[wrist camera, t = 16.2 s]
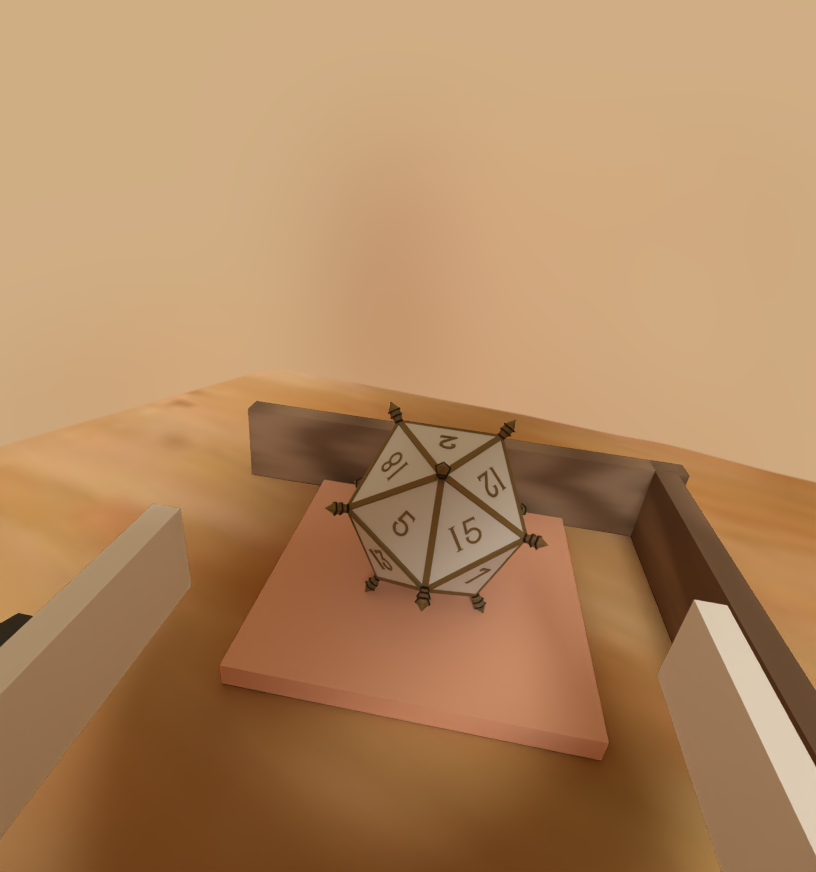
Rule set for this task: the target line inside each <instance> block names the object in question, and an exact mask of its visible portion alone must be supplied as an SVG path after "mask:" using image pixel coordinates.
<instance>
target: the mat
mask: <svg viewBox="0 0 816 872" xmlns="http://www.w3.org/2000/svg"><path fill="white" fill-rule="evenodd" d="M355 490H356V487H355V485H354V484H348V483H342V482H336V481H330V480H324V481H323V483H322V484H321V486H320V488H319V490H318V491H317V493H316V495H315V497H314V499H313V500H312V502H311V504H310V506H309V507H308V509H307V511H306V513H305V515H304V516H303V518H302V520H301V522H300V523H299V525H298V527H297V529H296V530H295V532H294V534H293V536H292V538H291V539H290V541H289V543H288V545H287V546H286V548H285V550H284V552H283V553H282V555H281V557H280V559H279V561H278V562H277V564H276V566H275V568H274V569H273V571H272V573H271V575H270V577H269V578H268V580H267V582H266V584H265V585H264V587H263V589H262V591H261V592H260V594H259V596H258V598H257V600H256V601H255V603H254V605H253V607H252V608H251V610H250V612H249V614H248V616H247V617H246V619H245V621H244V623H243V624H242V626H241V628H240V630H239V631H238V633H237V635H236V637H235V639H234V640H233V642H232V644H231V646H230V647H229V649H228V651H227V653H226V655H225V656H224V658H223V660H222V662H221V663H220V665H219V667H220V675H221V683H223V684H228V685H233V686H238V687H242V688H247V689H252V690H257V691H262V692H267V693H272V694H277V695H282V696H287V697H292V698H296V699H301V700H306V701H311V702H316V703H321V704H326V705H331V706H336V707H341V708H345V709H350V710H355V711H360V712H365V713H370V714H375V715H380V716H385V717H390V718H395V719H399V720H404V721H409V722H414V723H419V724H424V725H429V726H434V727H439V728H444V729H448V730H453V731H458V732H463V733H468V734H473V735H478V736H483V737H488V738H493V739H497V740H502V741H507V742H512V743H517V744H522V745H527V746H532V747H537V748H542V749H547V750H551V751H556V752H561V753H566V754H571V755H576V756H581V757H586V758H591V759H596V760H600V761H601V760H602V758H603V755H604V753H605V751H606V749H607V747H608V745H609V741H608V736H607V731H606V727H605V722H604V717H603V712H602V707H601V703H600V698H599V693H598V688H597V683H596V679H595V674H594V669H593V664H592V659H591V655H590V650H589V645H588V640H587V635H586V631H585V626H584V621H583V616H582V611H581V607H580V602H579V597H578V592H577V587H576V583H575V578H574V573H573V568H572V563H571V559H570V554H569V549H568V544H567V539H566V535H565V530H564V525H563V520H562V518H557V517H551V516H545V515H539V514H533V513H526V515H523V518H524V522H525V526H526V530H527V534H528V535H532V534H535V535H536V536H538V535H540V536H542V539H543V540H544V541H545V542H546V543H547V544H548V545H549V546H545V547H542V548H538V549H537V550H535V548H534V547H531V548H530V546H529V545H528V544H527V543H523V544H522V545H521V547H520V548H519V549H518V550H517V551H516V552H515V553H514V554H513V555H512V557H511V558H510V559H509V560H508V561H507V562H506V563H505V564H504V566H503V567H502V568H501V569H500V570H499V571H498V572H497V573H496V574H495V576H494V577H493V578H492V579H491V580H490V581H489V582H488V583H487V585H486V586H485V587H484V588H483V589H482V590H481V591H480V592H479V595H480V596H481V597H483V598H484V599H483V600H484V602H486V604H485V608H484V613H481V612H480V611H478V610H477V609H474V604H473V603H472V600H473V598H472V597H470V596H459V595H448V594H437V593H429V594H430V597H431V600H430V604H431V605H430V606H427V607H426V608H425V609H424V610H423V611H422V612H421V611H420V609H419V607H418V605H417V604H416V603H415V600H416V599H417V597H416V595H417V594H418V593H419V591H418V590H414V589H410V588H407V587H403V586H399V585H395V584H392V583H388V582H384V581H381V580H380V581H379V582H378V583H379V584H378V586H377V587H376V588H375V590H374V591H368V592H365V586H366V583H365V581H368V580H369V577H373V576H374V572H373V570H372V567H371V565H370V563H369V560H368V558H367V556H366V554H365V551H364V549H363V547H362V545H361V542H360V540H359V538H358V536H357V533H356V531H355V529H354V527H353V524H352V522H351V520H350V518H349V515H348V513H343V514H342V515H341V516H340V515H339V514H338V515H336V516H334V515H333V514H332V513H331V512H330V511H328V510H327V509H325V508H326V507H327V506H329V505H331V504H332V503H333V502H337V503H339V502H343V504H347V503H348V502H349V500H350V498H351V497H352V495H353V493H354V492H355Z"/></svg>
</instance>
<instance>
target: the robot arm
mask: <svg viewBox="0 0 816 872" xmlns="http://www.w3.org/2000/svg"><path fill="white" fill-rule="evenodd" d="M191 586H192V585H191V578H190V571H189V564H188V557H187V550H186V544H185V537H184V530H183V523H182V516H181V509H180V508H175V507H170V506H164V505H158V504H152V505H151V506H150V507H149V508H148V509H147V510H146V511H145V512H144V513H143V514H142V515H141V516H140V517H139V518H138V519H136V520H135V521H134V522H133V523H132V524H131V525H130V526H129V527H128V528H127V529H126V530H125V531H124V532H123V533H122V534H120V535H119V536H118V537H117V538H116V539H115V540H114V541H113V542H112V543H111V544H110V545H109V546H108V547H107V548H106V549H104V550H103V551H102V552H101V553H100V554H99V555H98V556H97V557H96V558H95V559H94V560H93V561H92V562H91V563H90V564H88V565H87V566H86V567H85V568H84V569H83V570H82V571H81V572H80V573H79V574H78V575H77V576H76V577H75V578H74V579H73V580H71V581H70V582H69V583H68V584H67V585H66V586H65V587H64V588H63V589H62V590H61V591H60V592H59V593H58V594H57V595H55V596H54V597H53V598H52V599H51V600H50V601H49V602H48V603H47V604H46V605H45V606H44V607H43V608H42V609H41V610H39V611H38V612H37V613H36V614H35V615H34V616H30V615H25V614H20V613H18V614H16V615H14V616H12V617H11V618H9V619H7V620H5V621H4V622H2V623H0V839H1V838H2V836H3V835H4V834H5V832H6V831H7V830H8V828H9V827H10V826H11V824H12V823H13V822H14V820H15V819H16V818H17V816H18V815H19V814H20V812H21V811H22V810H23V808H24V807H25V806H26V804H27V803H28V802H29V801H30V799H31V798H32V797H33V795H34V794H35V793H36V791H37V790H38V789H39V787H40V786H41V785H42V783H43V782H44V781H45V779H46V778H47V777H48V775H49V774H50V773H51V771H52V770H53V769H54V767H55V766H56V765H57V763H58V762H59V761H60V759H61V758H62V757H63V755H64V754H65V753H66V751H67V750H68V749H69V747H70V746H71V745H72V744H73V742H74V741H75V740H76V738H77V737H78V736H79V734H80V733H81V732H82V730H83V729H84V728H85V726H86V725H87V724H88V722H89V721H90V720H91V718H92V717H93V716H94V714H95V713H96V712H97V710H98V709H99V708H100V706H101V705H102V704H103V702H104V701H105V700H106V698H107V697H108V696H109V694H110V693H111V692H112V691H113V689H114V688H115V687H116V685H117V684H118V683H119V681H120V680H121V679H122V677H123V676H124V675H125V673H126V672H127V671H128V669H129V668H130V667H131V665H132V664H133V663H134V661H135V660H136V659H137V657H138V656H139V655H140V653H141V652H142V651H143V649H144V648H145V647H146V645H147V644H148V643H149V641H150V640H151V639H152V637H153V636H154V635H155V634H156V632H157V631H158V630H159V628H160V627H161V626H162V624H163V623H164V622H165V620H166V619H167V618H168V616H169V615H170V614H171V612H172V611H173V610H174V608H175V607H176V606H177V604H178V603H179V602H180V600H181V599H182V598H183V596H184V595H185V594H186V592H187V591H188V590H189V588H190V587H191ZM657 677H658V680H659V683H660V686H661V689H662V692H663V695H664V698H665V701H666V704H667V707H668V710H669V713H670V717H671V720H672V723H673V726H674V729H675V732H676V735H677V738H678V741H679V744H680V747H681V750H682V753H683V756H684V759H685V762H686V765H687V768H688V771H689V775H690V778H691V781H692V784H693V787H694V790H695V793H696V796H697V799H698V802H699V805H700V808H701V811H702V814H703V817H704V820H705V823H706V826H707V829H708V833H709V836H710V839H711V842H712V845H713V848H714V851H715V854H716V857H717V860H718V863H719V866H720V869H721V872H816V766H815V765H814V763H813V761H812V759H811V757H810V755H809V754H808V752H807V750H806V748H805V746H804V745H803V743H802V741H801V739H800V737H799V735H798V734H797V732H796V730H795V728H794V726H793V724H792V723H791V721H790V719H789V717H788V715H787V713H786V712H785V710H784V708H783V706H782V704H781V703H780V701H779V699H778V697H777V695H776V693H775V692H774V690H773V688H772V686H771V684H770V682H769V681H768V679H767V677H766V675H765V673H764V672H763V670H762V668H761V666H760V664H759V662H758V661H757V659H756V657H755V655H754V653H753V651H752V650H751V648H750V646H749V644H748V642H747V640H746V639H745V637H744V635H743V633H742V631H741V630H740V628H739V626H738V624H737V622H736V620H735V619H734V617H733V615H732V613H731V611H730V609H729V608H728V606H727V605H722V604H716V603H711V602H705V601H700V600H694V601H693V603H692V605H691V607H690V609H689V611H688V613H687V615H686V617H685V619H684V621H683V623H682V625H681V627H680V629H679V631H678V633H677V635H676V637H675V640H674V642H673V644H672V646H671V648H670V650H669V652H668V654H667V656H666V658H665V660H664V662H663V664H662V666H661V668H660V670H659V672H658V674H657Z"/></svg>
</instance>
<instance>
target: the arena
mask: <svg viewBox="0 0 816 872" xmlns="http://www.w3.org/2000/svg"><path fill="white" fill-rule="evenodd" d="M248 416H249V433H250V449H251V465H252V474H255V475H261V476H267V477H273V478H279V479H285V480H292V481H298V482H304V483H310V484H316V485H321V484H322V483H323V481H324V480H330V481H336V482H342V483H348V484H354V485H355V483H354V481H356V480H357V479H359V478H361V477H362V478H363V477H364V475H365V473H366V472H367V470H368V468H369V467H370V465H371V463H372V462H373V460H374V458H375V457H376V455H377V453H378V452H379V450H380V449H381V447H382V445H383V444H384V442H385V440H386V439H387V437H388V435H389V434H390V432H391V430H392V429H393V427H394V425H395V422H392V421H386V420H379V419H372V418H366V417H359V416H352V415H346V414H339V413H332V412H326V411H319V410H312V409H306V408H299V407H292V406H286V405H279V404H272V403H266V402H259V401H256V402H255V403H254V404H253V405H252V406H251V407H250V408H249V409H248ZM504 442H505V446H506V450H507V454H508V458H509V462H510V466H511V470H512V474H513V478H514V482H515V486H516V490H517V494H518V498H519V502H520V505H521V504H522V503H523V504H524V505H525V506H526V507H527V508H528V509H529V511H528V512H527V513H533V514H539V515H545V516H551V517H557V518H562V520H563V525H566V526H572V527H579V528H585V529H591V530H597V531H603V532H609V533H615V534H621V535H627V536H631V538H632V541H633V543H634V546H635V548H636V551H637V554H638V556H639V559H640V561H641V564H642V566H643V569H644V571H645V574H646V577H647V579H648V582H649V584H650V587H651V589H652V592H653V594H654V597H655V600H656V602H657V605H658V607H659V610H660V612H661V615H662V617H663V620H664V623H665V625H666V628H667V630H668V633H669V635H670V638H671V640H672V643H673V642H674V640H675V637H676V635H677V633H678V631H679V629H680V627H681V625H682V623H683V621H684V619H685V617H686V615H687V613H688V611H689V609H690V607H691V605H692V603H693V601H694V600H700V601H705V602H711V603H716V604H722V605H727V606H728V608H729V609H730V611H731V613H732V615H733V617H734V619H735V620H736V622H737V624H738V626H739V628H740V630H741V631H742V633H743V635H744V637H745V639H746V640H747V642H748V644H749V646H750V648H751V650H752V651H753V653H754V655H755V657H756V659H757V661H758V662H759V664H760V666H761V668H762V670H763V672H764V673H765V675H766V677H767V679H768V681H769V682H770V684H771V686H772V688H773V690H774V692H775V693H776V695H777V697H778V699H779V701H780V703H781V704H782V706H783V708H784V710H785V712H786V713H787V715H788V717H789V719H790V721H791V723H792V724H793V726H794V728H795V730H796V732H797V734H798V735H799V737H800V739H801V741H802V743H803V745H804V746H805V748H806V750H807V752H808V754H809V755H810V757H811V759H812V761H813V763H814V765H815V766H816V690H815V689H814V687H813V686H812V684H811V682H810V681H809V679H808V678H807V676H806V675H805V673H804V671H803V670H802V668H801V667H800V665H799V664H798V662H797V660H796V659H795V657H794V656H793V654H792V653H791V651H790V649H789V648H788V646H787V645H786V643H785V642H784V640H783V638H782V637H781V635H780V634H779V632H778V631H777V629H776V627H775V626H774V624H773V623H772V621H771V620H770V618H769V616H768V615H767V613H766V612H765V610H764V609H763V607H762V605H761V604H760V602H759V601H758V599H757V598H756V596H755V594H754V593H753V591H752V590H751V588H750V587H749V585H748V583H747V582H746V580H745V579H744V577H743V576H742V574H741V572H740V571H739V569H738V568H737V566H736V565H735V563H734V561H733V560H732V558H731V557H730V555H729V554H728V552H727V550H726V549H725V547H724V546H723V544H722V543H721V541H720V539H719V538H718V536H717V535H716V533H715V532H714V530H713V528H712V527H711V525H710V524H709V522H708V521H707V519H706V517H705V516H704V514H703V513H702V511H701V510H700V508H699V506H698V505H697V503H696V502H695V500H694V499H693V497H692V495H691V494H690V492H689V491H688V489H687V488H686V486H685V485H686V483H687V481H688V478H689V475H688V473H687V472H686V470H685V469H684V467H683V466H682V465H679V464H672V463H666V462H659V461H652V460H646V459H639V458H632V457H626V456H619V455H612V454H606V453H599V452H592V451H586V450H579V449H572V448H566V447H559V446H552V445H546V444H539V443H532V442H526V441H519V440H512V439H506V438H505V439H504Z"/></svg>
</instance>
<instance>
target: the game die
mask: <svg viewBox="0 0 816 872" xmlns="http://www.w3.org/2000/svg"><path fill="white" fill-rule="evenodd" d="M389 413H390V415H391V419H393V420H394V421H395V425H394V427H393V429H392V430H391V432H390V434H389V435H388V437H387V439H386V440H385V442H384V444H383V445H382V447H381V449H380V450H379V452H378V453H377V455H376V457H375V458H374V460H373V462H372V463H371V465H370V467H369V468H368V470H367V472H366V473H365V475H364V477H363V478H362V477H361V478H359V479H357V480H356V481H354V483H355V487H356V490H355V492H354V493H353V495H352V497H351V498H350V500H349V502H348V503H347V504H343V502H339V503H337V502H333V503H332V504H331V505H329V506H327V507H326V508H325V509H327V510H328V511H330V512H331V513H332V514H333V515H334V516H336V515H338V514H339V515H340V516H341V515H342V514H343V513H348V515H349V518H350V520H351V522H352V524H353V527H354V529H355V531H356V533H357V536H358V538H359V540H360V542H361V545H362V547H363V549H364V551H365V554H366V556H367V558H368V560H369V563H370V565H371V567H372V570H373V572H374V576H373V577H369V580H368V581H365V583H366V586H365V592H368V591H374V590H375V588H376V587H377V586H378V584H379V583H378V582H379V581H380V580H381V581H384V582H388V583H392V584H395V585H399V586H403V587H407V588H410V589H414V590H418V591H419V593H418V594H417V595H416V597H417V599H416V600H415V603H416V604H417V605H418V607H419V609H420V611H421V612H422V611H423V610H424V609H425V608H426V607H427V606H430V605H431V604H430V600H431V597H430V594H429V593H437V594H448V595H459V596H470V597H472V598H473V600H472V603H473V604H474V609H477V610H478V611H480V612H481V613H484V608H485V604H486V602H484V600H483V599H484V598H483V597H481V596H480V595H479V592H480V591H481V590H482V589H483V588H484V587H485V586H486V585H487V583H488V582H489V581H490V580H491V579H492V578H493V577H494V576H495V574H496V573H497V572H498V571H499V570H500V569H501V568H502V567H503V566H504V564H505V563H506V562H507V561H508V560H509V559H510V558H511V557H512V555H513V554H514V553H515V552H516V551H517V550H518V549H519V548H520V547H521V545H522V544H523V543H527V544H528V545H529V546H530V548H531V547H534V548H535V550H537V549H538V548H542V547H545V546H549V545H548V544H547V543H546V542H545V541H544V540H543V539H542V536H540V535H538V536H536V535H535V534H532V535H528V534H527V530H526V526H525V522H524V518H523V515H526V513H527V512H528V511H529V509H528V508H527V507H526V506H525V505H524V504H523V503H522V504H521V505H520V502H519V498H518V494H517V490H516V486H515V482H514V478H513V474H512V470H511V466H510V462H509V458H508V454H507V450H506V446H505V442H504V439H505V438H506V437H508V436H511V435H510V434H511V433H512V432H515V431H514V428H515V421H516V420H514V421H511V422H508V423H506V424H505V423H504V424H505V425H504V426H503V427H502V428H500V429H501V430H500V432H499V434H492V433H485V432H478V431H472V430H465V429H458V428H451V427H444V426H438V425H431V424H424V423H417V422H410V421H404V420H403V419H402V415H401V414H402V413H401V412H400V408H398V407H397V406H396V405H394V404H393V403H392V402H391V403H390V409H389V412H388V414H389Z"/></svg>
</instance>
